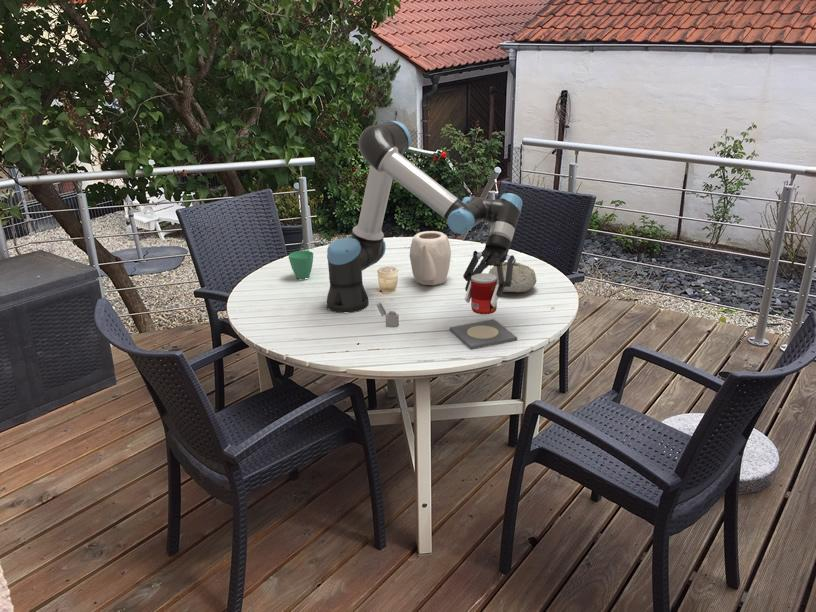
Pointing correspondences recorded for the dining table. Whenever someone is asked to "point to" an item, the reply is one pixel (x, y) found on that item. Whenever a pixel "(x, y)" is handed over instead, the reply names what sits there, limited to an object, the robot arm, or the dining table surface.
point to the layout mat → (482, 334)
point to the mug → (301, 263)
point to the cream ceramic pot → (430, 257)
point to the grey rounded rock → (517, 277)
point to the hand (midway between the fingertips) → (479, 303)
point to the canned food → (483, 293)
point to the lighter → (389, 316)
